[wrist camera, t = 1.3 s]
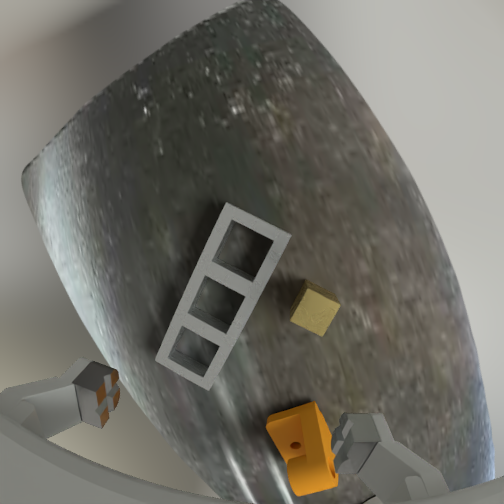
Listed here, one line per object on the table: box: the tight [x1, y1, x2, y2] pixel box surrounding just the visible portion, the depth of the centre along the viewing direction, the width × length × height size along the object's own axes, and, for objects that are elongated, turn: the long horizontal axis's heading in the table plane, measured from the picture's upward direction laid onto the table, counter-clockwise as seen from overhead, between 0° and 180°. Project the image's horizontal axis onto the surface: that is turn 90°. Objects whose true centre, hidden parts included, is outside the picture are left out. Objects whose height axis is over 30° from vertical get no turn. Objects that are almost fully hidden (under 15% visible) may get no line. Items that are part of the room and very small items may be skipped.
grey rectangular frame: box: [155, 202, 292, 391], centre depth 37 cm, size 8×22×3 cm, turn 154°
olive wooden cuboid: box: [290, 280, 341, 336], centre depth 35 cm, size 4×4×5 cm
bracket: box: [266, 401, 338, 496], centre depth 33 cm, size 11×7×12 cm, turn 24°
